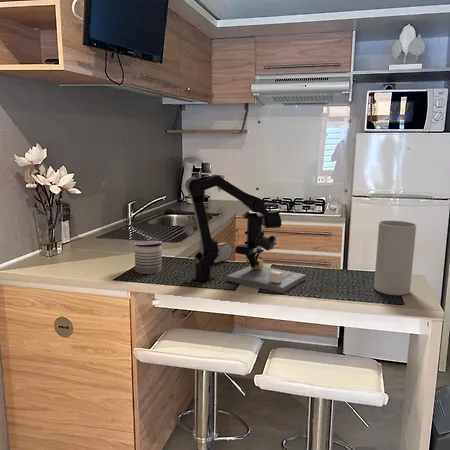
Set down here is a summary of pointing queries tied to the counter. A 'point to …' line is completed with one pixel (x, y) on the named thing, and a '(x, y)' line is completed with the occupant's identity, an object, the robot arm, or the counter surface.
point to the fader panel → (266, 279)
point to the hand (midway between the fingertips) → (253, 267)
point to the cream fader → (275, 276)
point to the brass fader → (258, 265)
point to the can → (148, 257)
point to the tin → (223, 252)
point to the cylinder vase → (394, 257)
